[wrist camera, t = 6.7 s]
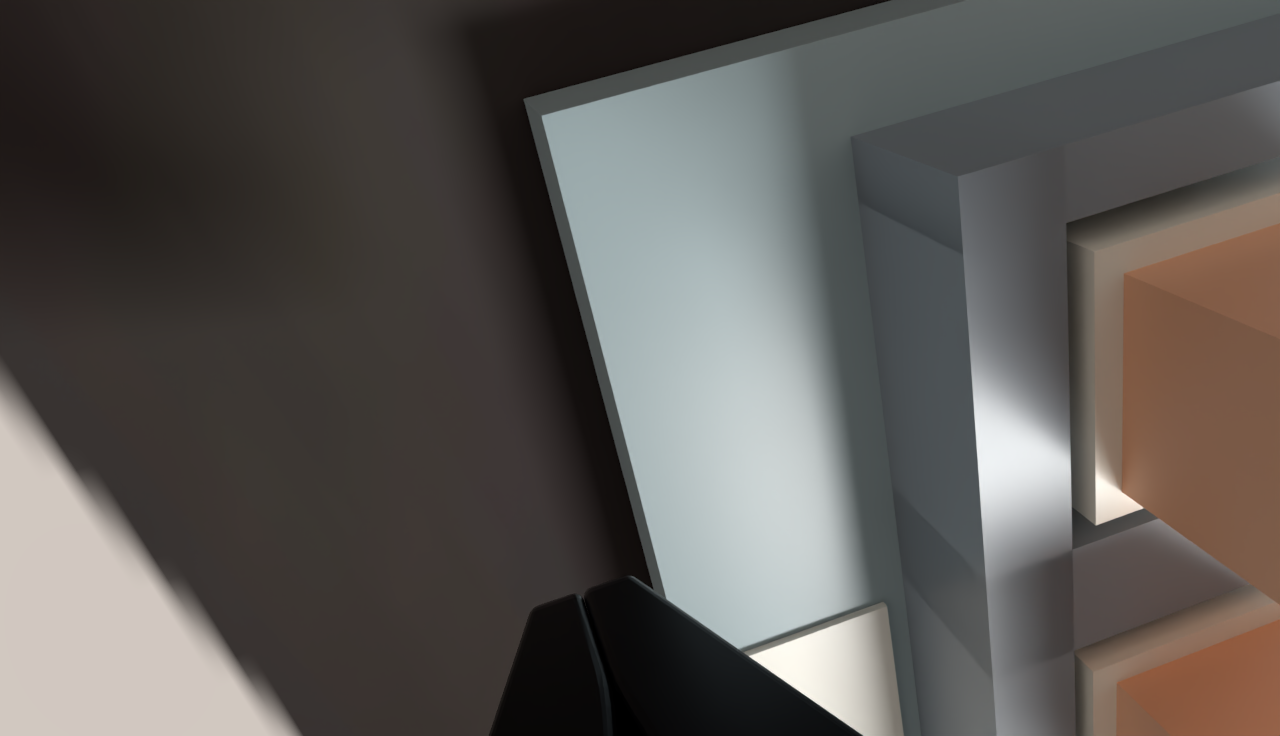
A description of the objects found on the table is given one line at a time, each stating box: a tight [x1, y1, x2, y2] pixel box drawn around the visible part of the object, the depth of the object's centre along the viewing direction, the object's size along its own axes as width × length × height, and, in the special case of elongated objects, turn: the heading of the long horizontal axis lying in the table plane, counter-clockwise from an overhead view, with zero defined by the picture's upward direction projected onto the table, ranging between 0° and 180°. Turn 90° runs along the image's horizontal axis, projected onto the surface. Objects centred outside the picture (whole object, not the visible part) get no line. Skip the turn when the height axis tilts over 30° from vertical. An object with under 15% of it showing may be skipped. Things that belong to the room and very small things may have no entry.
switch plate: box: [524, 0, 1280, 736], centre depth 12 cm, size 12×14×3 cm
